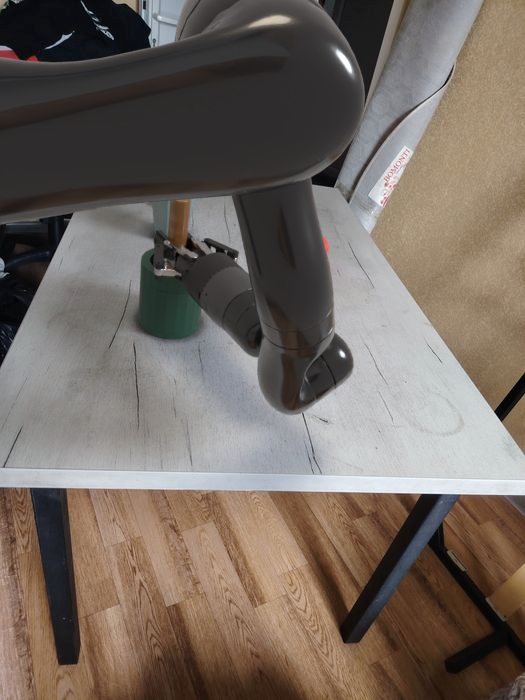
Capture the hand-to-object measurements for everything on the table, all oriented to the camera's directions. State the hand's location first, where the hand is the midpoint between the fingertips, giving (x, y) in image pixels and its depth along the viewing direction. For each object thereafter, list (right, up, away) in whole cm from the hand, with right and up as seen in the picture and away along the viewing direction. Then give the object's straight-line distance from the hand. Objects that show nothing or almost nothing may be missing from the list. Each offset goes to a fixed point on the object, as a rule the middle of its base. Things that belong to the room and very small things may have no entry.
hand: (167, 235), depth 72 cm
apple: (+24, +1, +32) cm, 40 cm away
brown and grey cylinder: (0, -10, +5) cm, 11 cm away
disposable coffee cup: (-6, +7, +31) cm, 32 cm away
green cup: (-1, -13, +7) cm, 14 cm away
